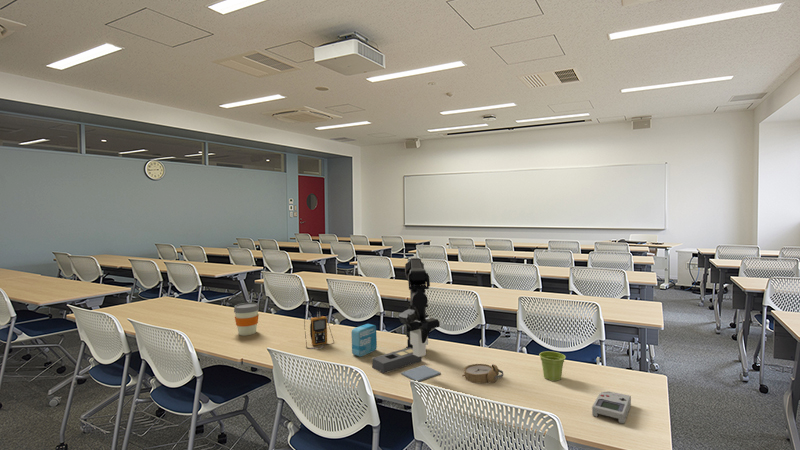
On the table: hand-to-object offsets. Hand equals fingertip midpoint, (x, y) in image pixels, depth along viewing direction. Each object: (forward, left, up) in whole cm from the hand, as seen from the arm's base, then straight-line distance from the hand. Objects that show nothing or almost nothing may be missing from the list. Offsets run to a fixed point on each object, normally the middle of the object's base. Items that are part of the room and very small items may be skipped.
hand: (419, 341), depth 164 cm
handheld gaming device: (-28, +62, -14) cm, 69 cm away
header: (+1, -14, -13) cm, 19 cm away
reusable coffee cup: (+36, -102, -13) cm, 109 cm away
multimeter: (+15, -56, -13) cm, 59 cm away
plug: (0, 0, -5) cm, 5 cm away
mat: (0, 0, -13) cm, 13 cm away
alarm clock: (-16, +19, -14) cm, 28 cm away
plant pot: (-36, +35, -13) cm, 52 cm away
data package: (+4, -35, -13) cm, 37 cm away
